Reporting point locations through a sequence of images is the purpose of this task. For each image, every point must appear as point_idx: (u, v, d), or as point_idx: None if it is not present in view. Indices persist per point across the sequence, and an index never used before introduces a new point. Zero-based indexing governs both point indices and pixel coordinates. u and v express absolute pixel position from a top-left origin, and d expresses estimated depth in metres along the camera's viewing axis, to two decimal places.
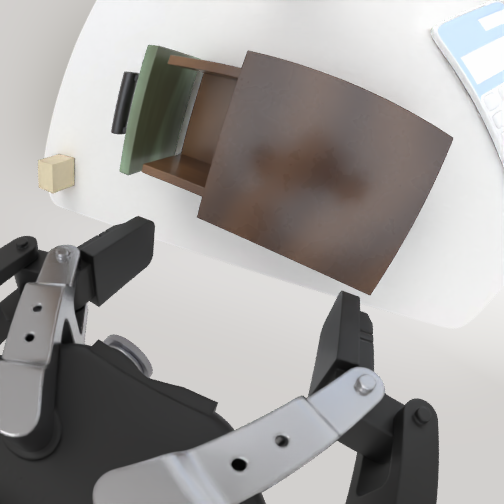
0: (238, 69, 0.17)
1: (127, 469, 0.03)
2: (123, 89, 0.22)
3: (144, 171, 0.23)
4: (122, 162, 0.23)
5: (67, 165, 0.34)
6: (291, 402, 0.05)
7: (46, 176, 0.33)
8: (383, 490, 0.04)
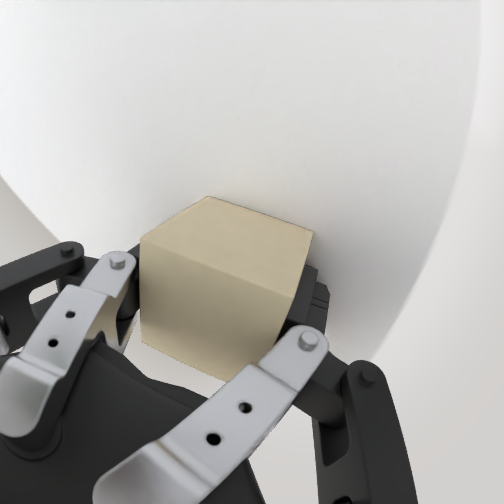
0: None
1: (115, 470, 0.03)
2: None
3: None
4: None
5: (211, 212, 0.10)
6: (243, 369, 0.06)
7: (200, 316, 0.08)
8: (349, 457, 0.05)
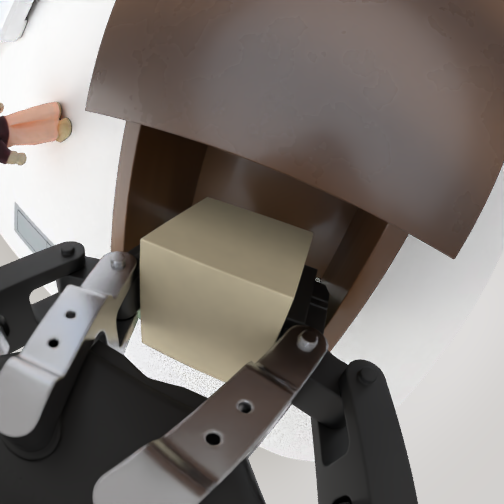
0: (126, 129, 0.09)
1: (115, 471, 0.03)
2: None
3: None
4: None
5: (211, 213, 0.10)
6: (242, 369, 0.06)
7: (200, 317, 0.08)
8: (349, 457, 0.05)
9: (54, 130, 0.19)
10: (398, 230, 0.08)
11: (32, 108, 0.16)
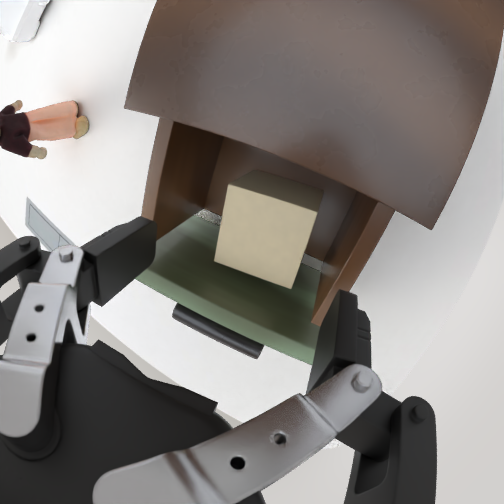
0: (159, 126, 0.11)
1: (126, 469, 0.03)
2: (195, 325, 0.18)
3: None
4: (299, 356, 0.14)
5: (261, 177, 0.16)
6: (289, 399, 0.05)
7: (262, 231, 0.14)
8: (381, 488, 0.04)
9: (72, 127, 0.21)
10: (385, 208, 0.10)
11: (51, 106, 0.18)
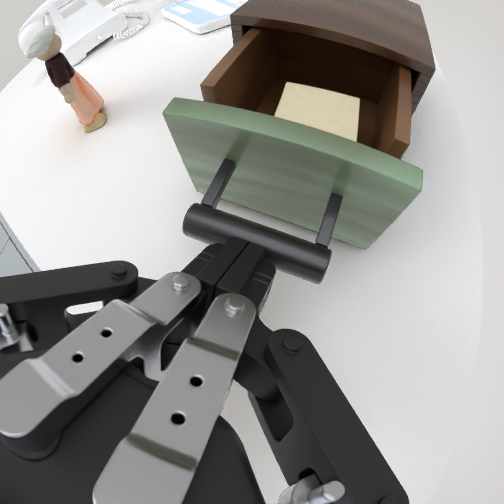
0: (248, 32, 0.14)
1: (104, 476, 0.03)
2: (225, 222, 0.12)
3: (407, 138, 0.11)
4: (401, 175, 0.10)
5: None
6: (182, 345, 0.06)
7: (318, 107, 0.14)
8: (297, 429, 0.05)
9: (93, 113, 0.22)
10: (405, 72, 0.12)
11: (89, 84, 0.21)
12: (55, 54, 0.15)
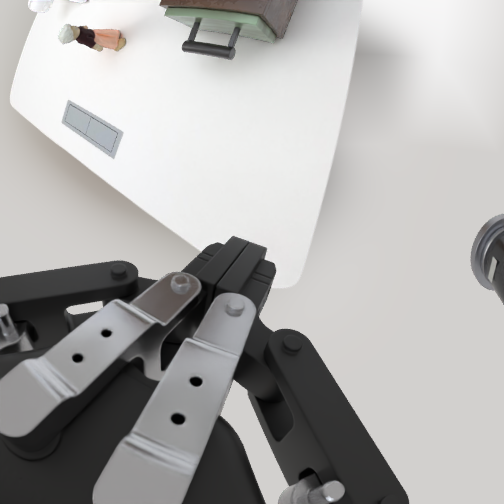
0: None
1: (104, 476, 0.03)
2: (195, 45, 0.26)
3: None
4: (247, 21, 0.22)
5: None
6: (182, 346, 0.06)
7: None
8: (297, 430, 0.05)
9: (116, 42, 0.33)
10: None
11: (106, 29, 0.30)
12: (78, 34, 0.26)
